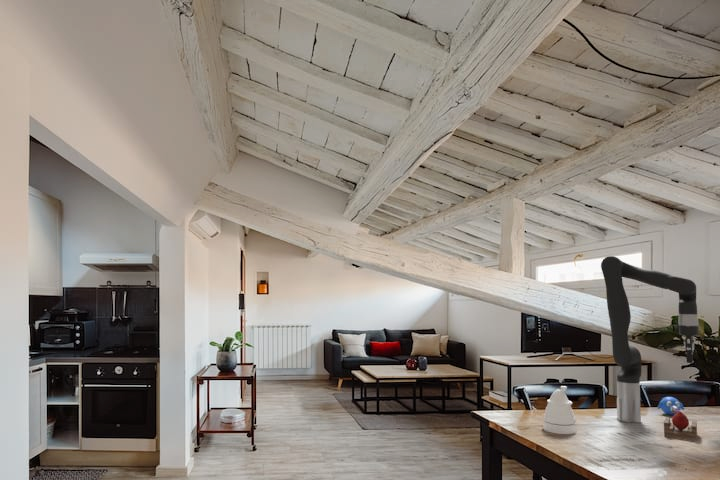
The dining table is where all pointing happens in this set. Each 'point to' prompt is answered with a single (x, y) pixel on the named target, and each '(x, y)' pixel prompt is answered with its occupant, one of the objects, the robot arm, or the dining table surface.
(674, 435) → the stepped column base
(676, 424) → the pomegranate
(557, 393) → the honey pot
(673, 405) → the blue mole toy
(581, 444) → the dining table surface
